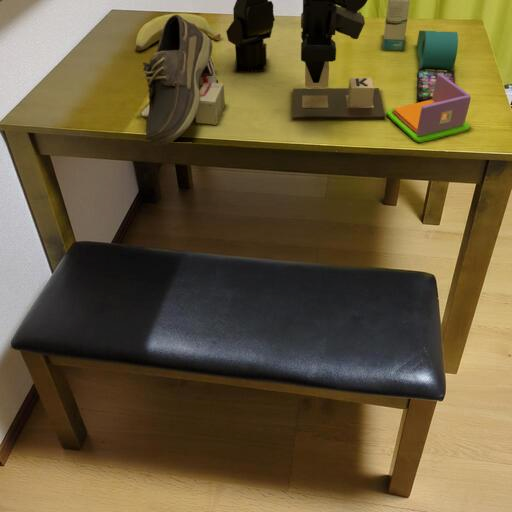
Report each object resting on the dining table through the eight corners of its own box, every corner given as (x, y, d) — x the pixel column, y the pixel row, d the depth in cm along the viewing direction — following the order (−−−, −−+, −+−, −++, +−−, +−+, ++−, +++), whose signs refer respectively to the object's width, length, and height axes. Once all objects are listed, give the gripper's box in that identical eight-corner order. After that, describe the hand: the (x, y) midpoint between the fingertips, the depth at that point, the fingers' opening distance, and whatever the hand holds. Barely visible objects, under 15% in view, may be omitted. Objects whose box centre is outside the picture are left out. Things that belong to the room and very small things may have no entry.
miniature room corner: (471, 129, 110) (480, 97, 105) (417, 144, 107) (423, 110, 102) (435, 101, 118) (441, 69, 113) (383, 113, 115) (388, 81, 110)
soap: (157, 119, 117) (156, 115, 116) (137, 117, 118) (136, 113, 117) (176, 97, 124) (176, 93, 123) (157, 95, 125) (157, 91, 124)
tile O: (305, 87, 114) (305, 66, 112) (305, 76, 118) (305, 56, 115) (328, 87, 114) (329, 66, 111) (327, 76, 117) (328, 56, 115)
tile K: (349, 106, 117) (351, 87, 114) (348, 95, 120) (349, 76, 117) (372, 106, 116) (374, 87, 114) (370, 95, 120) (372, 76, 117)
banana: (144, 3, 146) (223, 13, 146) (146, 22, 151) (223, 32, 151) (132, 38, 139) (215, 48, 139) (135, 57, 144) (215, 67, 143)
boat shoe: (151, 162, 110) (108, 128, 103) (179, 57, 125) (143, 21, 118) (193, 143, 104) (150, 105, 97) (217, 34, 119) (182, -5, 112)
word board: (292, 120, 115) (292, 116, 115) (293, 91, 124) (293, 88, 123) (384, 119, 114) (385, 115, 113) (378, 91, 123) (378, 87, 122)
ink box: (403, 51, 137) (410, -1, 129) (382, 50, 138) (388, -2, 130) (403, 36, 144) (410, -14, 136) (383, 36, 144) (389, -14, 136)
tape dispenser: (421, 74, 128) (426, 39, 123) (416, 46, 139) (421, 13, 134) (452, 75, 127) (459, 40, 122) (445, 47, 138) (451, 14, 133)
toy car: (211, 63, 136) (209, 31, 131) (221, 99, 123) (218, 64, 118) (178, 66, 135) (175, 34, 130) (185, 102, 122) (180, 68, 117)
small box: (203, 81, 118) (193, 100, 112) (223, 83, 117) (214, 101, 111) (205, 104, 121) (195, 123, 115) (225, 106, 120) (216, 125, 115)
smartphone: (416, 99, 117) (417, 67, 128) (415, 103, 118) (417, 71, 129) (456, 102, 116) (454, 69, 127) (455, 106, 117) (453, 73, 127)
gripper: (368, 13, 97) (360, 99, 108) (360, -23, 111) (353, 57, 122) (301, 14, 98) (300, 99, 109) (301, -22, 112) (300, 57, 122)
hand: (315, 77), depth 115 cm, fingers closed on tile O, 4 cm apart
